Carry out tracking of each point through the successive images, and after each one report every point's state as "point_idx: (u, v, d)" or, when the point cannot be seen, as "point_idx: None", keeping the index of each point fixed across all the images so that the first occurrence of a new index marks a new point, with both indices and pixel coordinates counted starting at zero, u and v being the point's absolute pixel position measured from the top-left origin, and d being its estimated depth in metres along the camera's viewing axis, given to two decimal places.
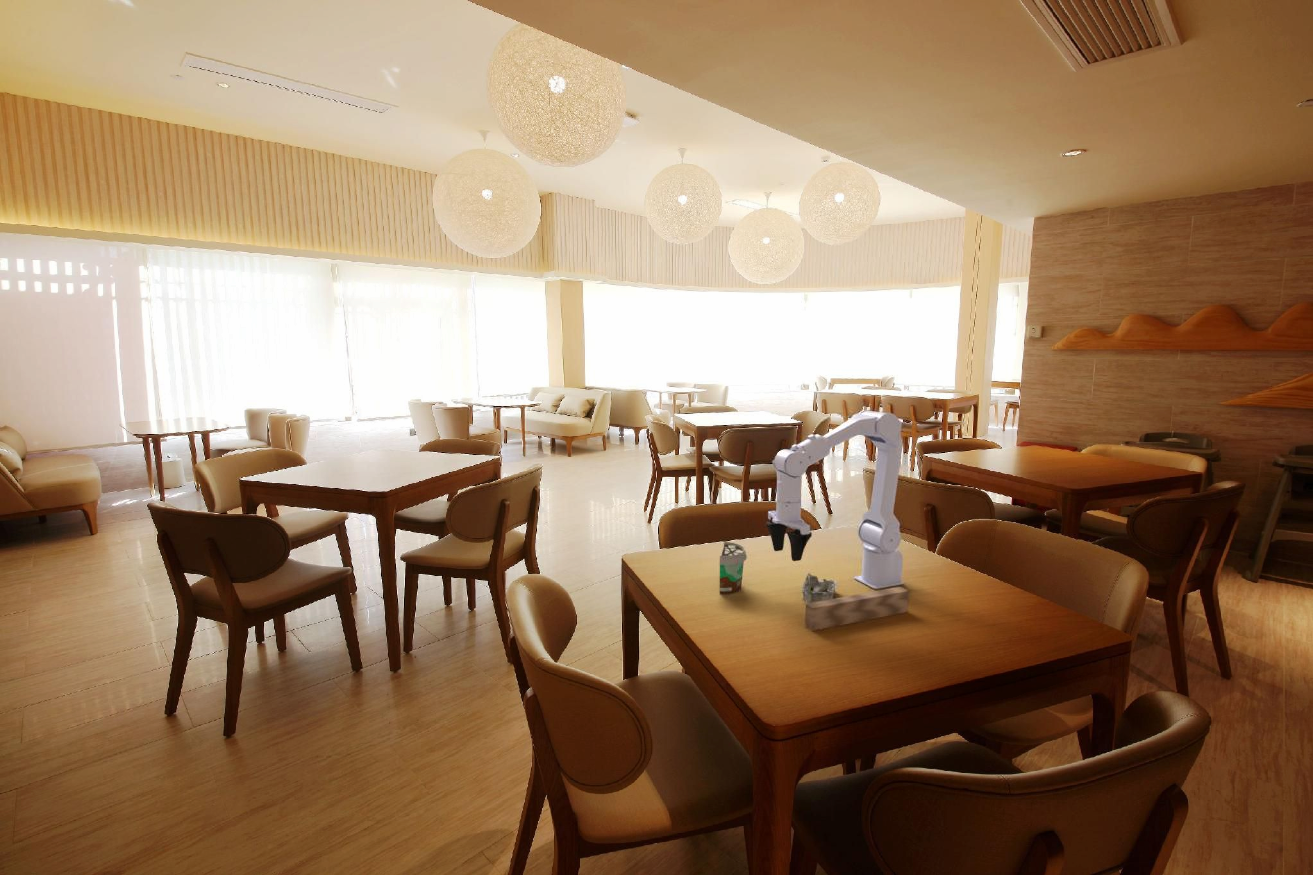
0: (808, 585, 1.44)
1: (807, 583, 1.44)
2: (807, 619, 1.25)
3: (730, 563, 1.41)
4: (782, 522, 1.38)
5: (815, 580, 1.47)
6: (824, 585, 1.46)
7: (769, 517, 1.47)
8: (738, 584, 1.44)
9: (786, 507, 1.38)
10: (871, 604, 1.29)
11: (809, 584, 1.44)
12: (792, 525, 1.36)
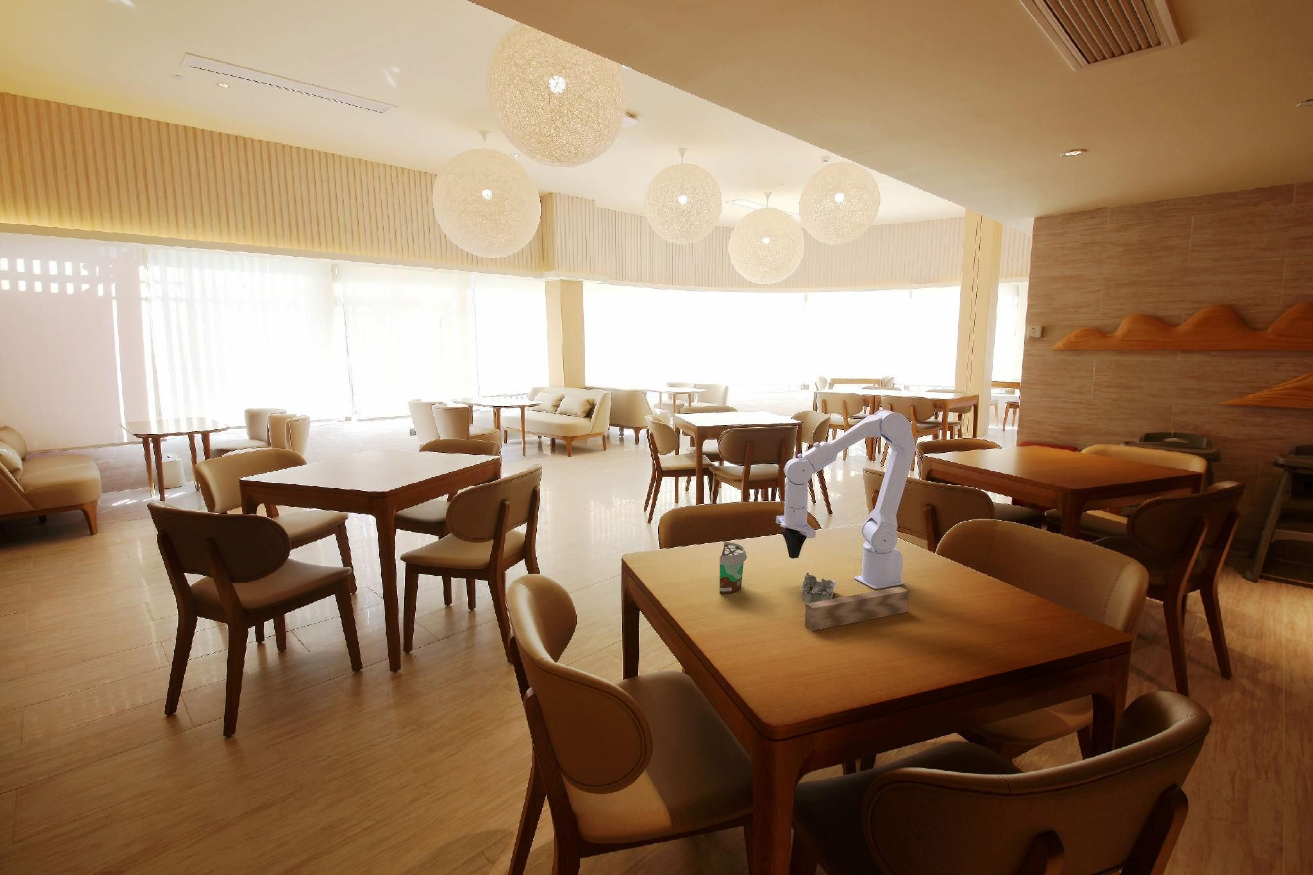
0: (807, 585, 1.44)
1: (806, 583, 1.44)
2: (807, 619, 1.25)
3: (730, 563, 1.41)
4: (789, 526, 1.48)
5: (813, 580, 1.47)
6: (823, 585, 1.46)
7: (777, 521, 1.56)
8: (738, 584, 1.44)
9: (793, 512, 1.47)
10: (871, 604, 1.29)
11: (808, 584, 1.44)
12: (799, 529, 1.46)
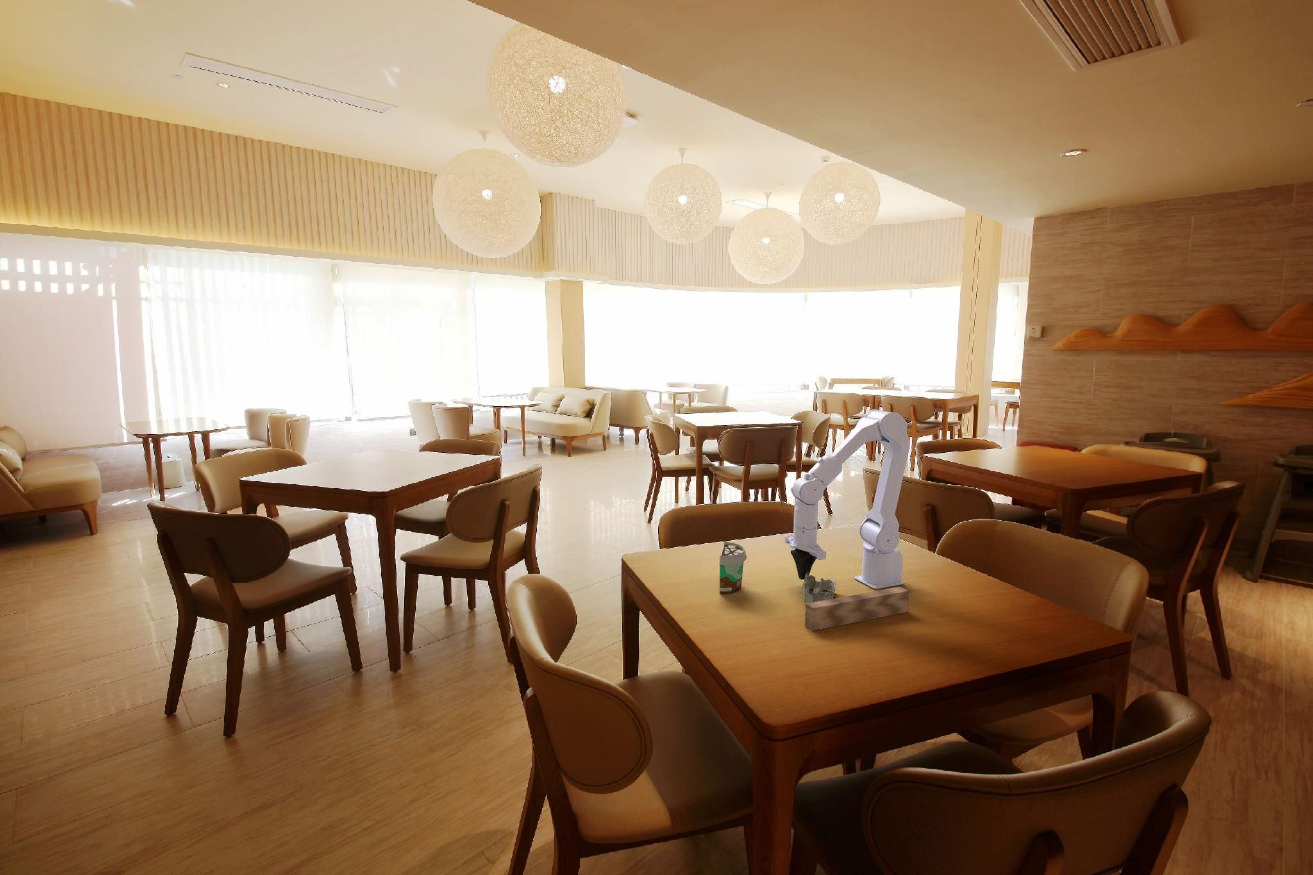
0: (807, 585, 1.43)
1: (806, 583, 1.43)
2: (807, 619, 1.25)
3: (730, 563, 1.41)
4: (799, 547, 1.45)
5: (812, 580, 1.47)
6: (822, 584, 1.46)
7: (786, 541, 1.53)
8: (738, 584, 1.44)
9: (803, 533, 1.44)
10: (871, 604, 1.29)
11: (808, 584, 1.43)
12: (809, 550, 1.43)
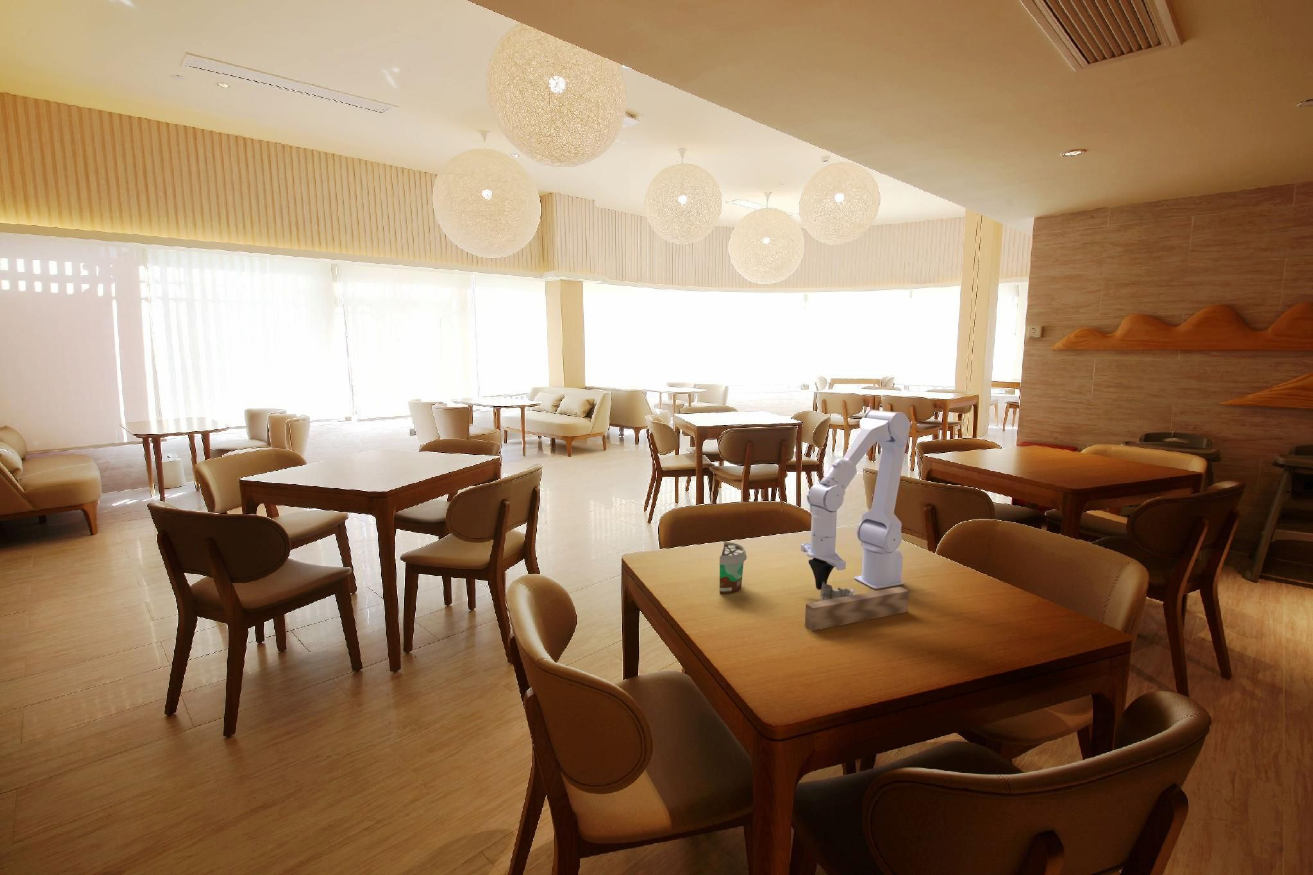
0: (825, 595, 1.37)
1: (824, 593, 1.37)
2: (807, 619, 1.25)
3: (730, 563, 1.41)
4: (817, 556, 1.38)
5: (829, 589, 1.41)
6: (840, 594, 1.40)
7: (802, 549, 1.46)
8: (738, 584, 1.44)
9: (821, 541, 1.37)
10: (871, 604, 1.29)
11: (825, 594, 1.37)
12: (827, 560, 1.36)
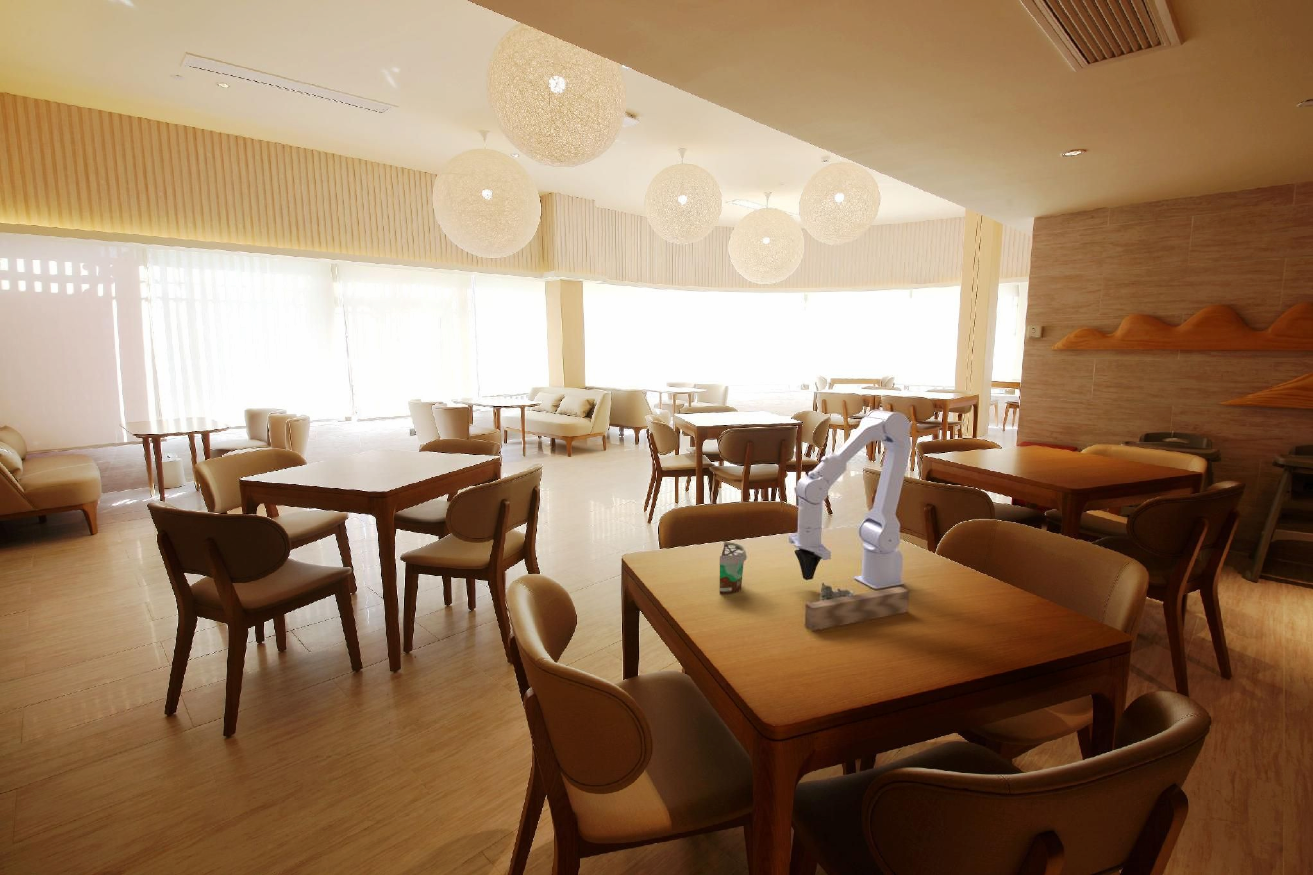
0: (824, 596, 1.37)
1: (823, 594, 1.37)
2: (807, 619, 1.25)
3: (730, 563, 1.41)
4: (803, 547, 1.43)
5: (829, 590, 1.41)
6: (839, 595, 1.40)
7: (790, 541, 1.51)
8: (738, 584, 1.44)
9: (807, 533, 1.42)
10: (871, 604, 1.29)
11: (825, 595, 1.37)
12: (813, 550, 1.41)
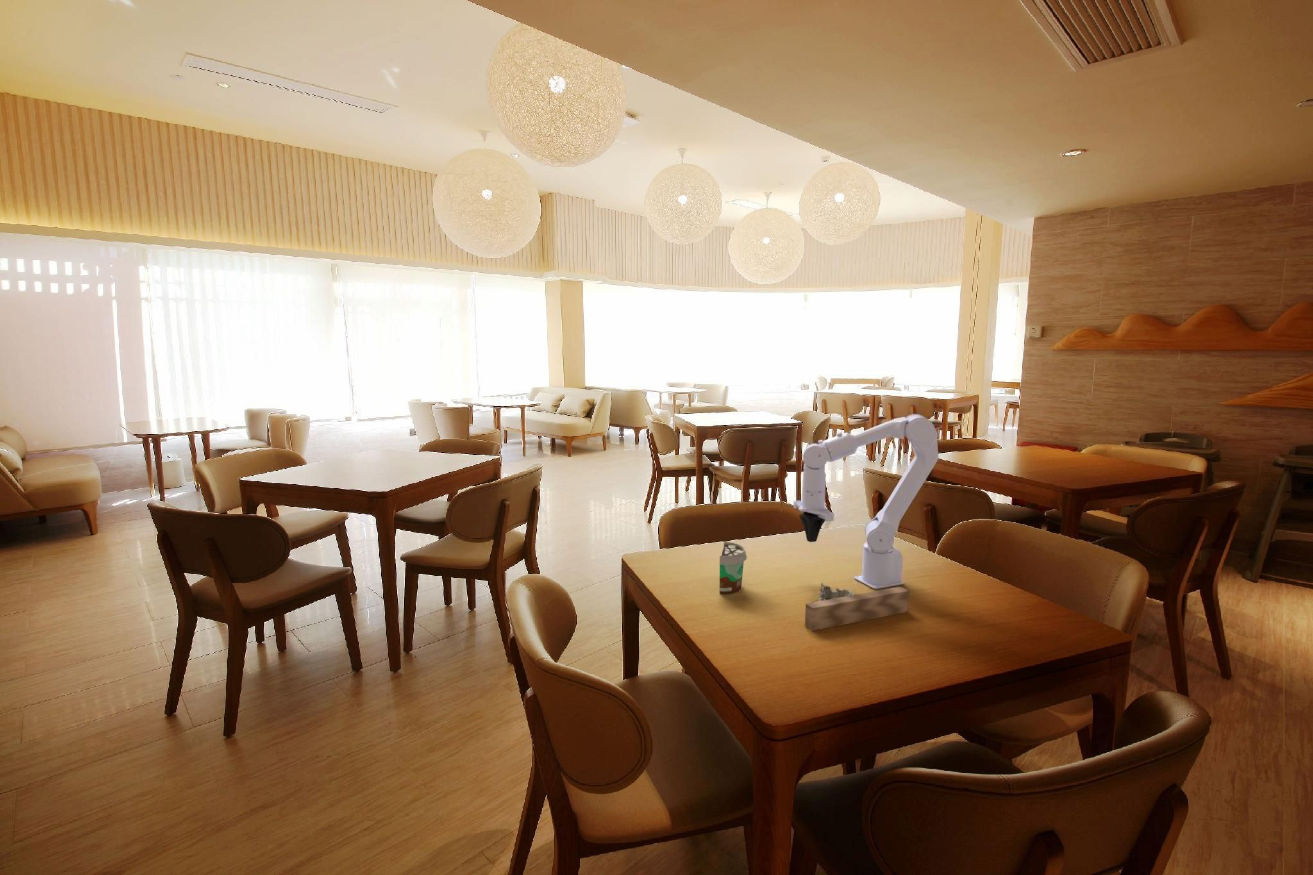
0: (823, 596, 1.37)
1: (823, 594, 1.37)
2: (807, 619, 1.25)
3: (730, 563, 1.41)
4: (808, 510, 1.51)
5: (828, 590, 1.41)
6: (838, 595, 1.40)
7: (794, 506, 1.59)
8: (738, 584, 1.44)
9: (811, 496, 1.50)
10: (871, 604, 1.29)
11: (824, 595, 1.37)
12: (817, 513, 1.49)
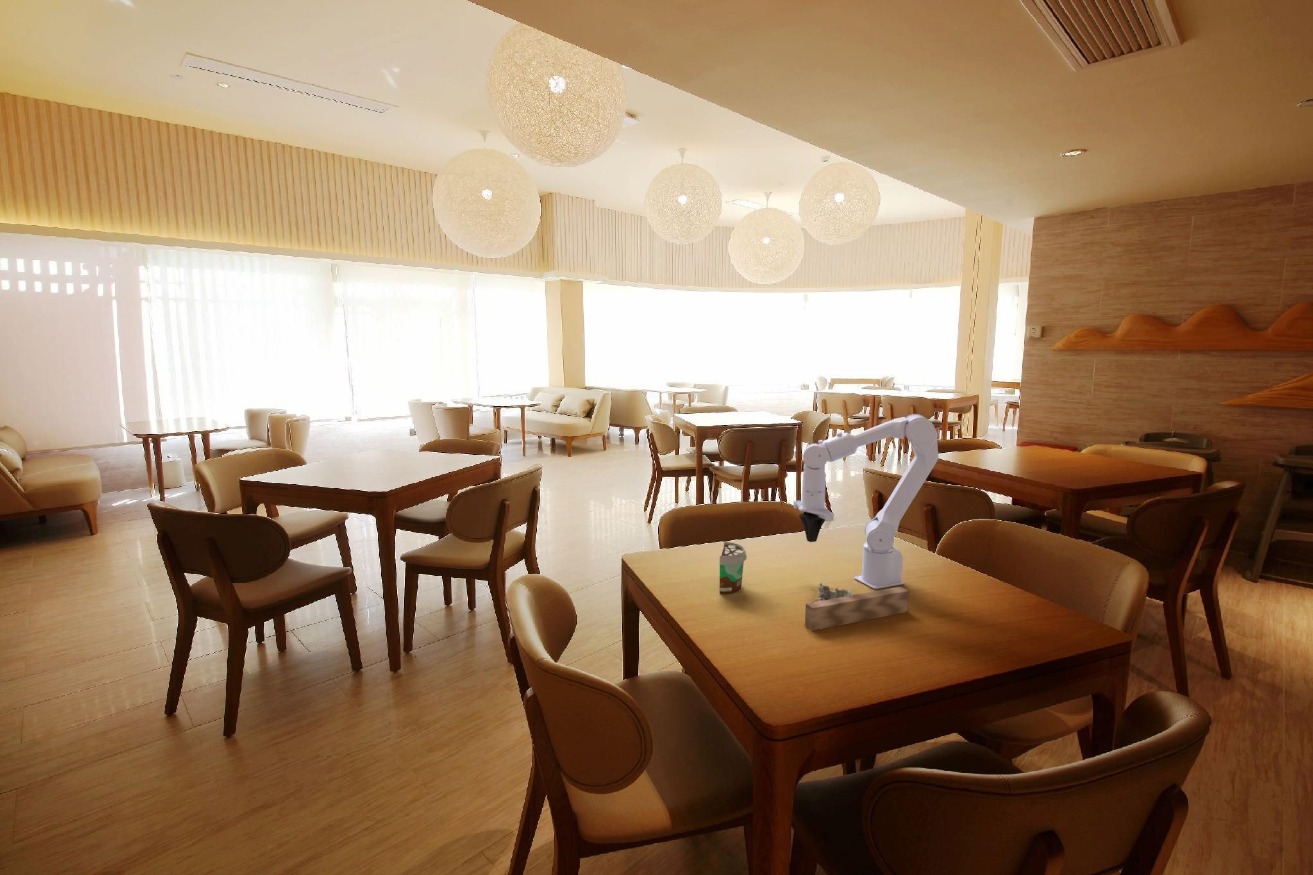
0: (822, 596, 1.37)
1: (822, 594, 1.37)
2: (807, 619, 1.25)
3: (730, 563, 1.41)
4: (808, 510, 1.51)
5: (827, 590, 1.41)
6: (837, 595, 1.40)
7: (794, 506, 1.59)
8: (738, 584, 1.44)
9: (811, 496, 1.50)
10: (871, 604, 1.29)
11: (823, 595, 1.37)
12: (817, 513, 1.49)
